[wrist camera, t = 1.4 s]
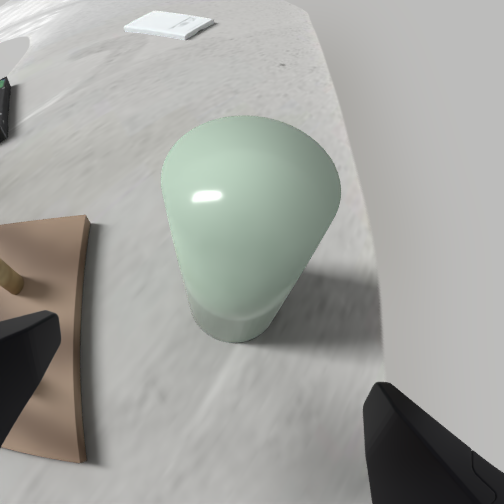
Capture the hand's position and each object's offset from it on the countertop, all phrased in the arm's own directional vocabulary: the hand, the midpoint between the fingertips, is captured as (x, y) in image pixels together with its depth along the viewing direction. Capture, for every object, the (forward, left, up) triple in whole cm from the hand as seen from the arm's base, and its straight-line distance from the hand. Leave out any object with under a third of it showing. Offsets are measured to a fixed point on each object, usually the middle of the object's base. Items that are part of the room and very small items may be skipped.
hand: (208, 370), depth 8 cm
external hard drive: (+51, +5, -13) cm, 53 cm away
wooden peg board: (+4, +18, -13) cm, 23 cm away
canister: (+6, -2, -13) cm, 14 cm away
